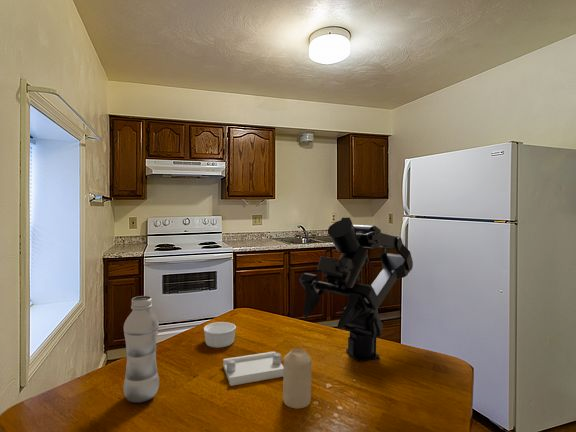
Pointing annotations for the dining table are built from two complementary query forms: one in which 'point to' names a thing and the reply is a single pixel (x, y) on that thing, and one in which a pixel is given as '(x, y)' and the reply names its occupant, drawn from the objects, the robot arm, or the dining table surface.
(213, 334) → the ramekin
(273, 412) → the dining table surface
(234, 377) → the tray
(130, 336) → the plastic bottle
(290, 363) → the candle
